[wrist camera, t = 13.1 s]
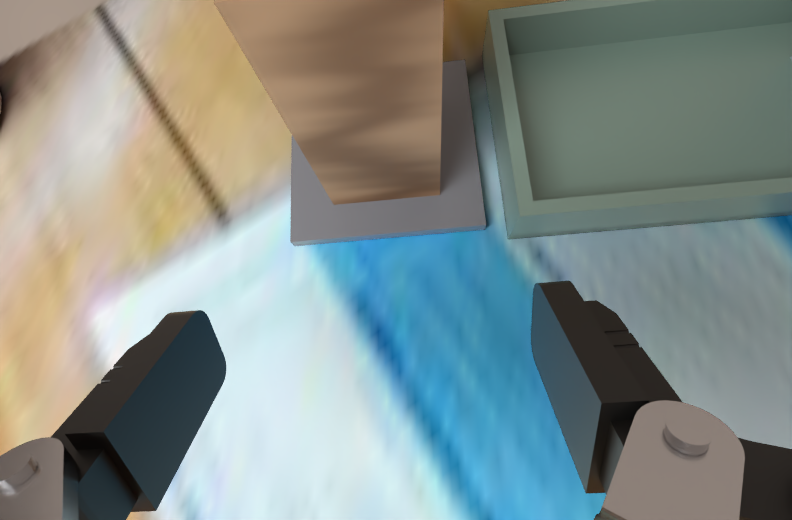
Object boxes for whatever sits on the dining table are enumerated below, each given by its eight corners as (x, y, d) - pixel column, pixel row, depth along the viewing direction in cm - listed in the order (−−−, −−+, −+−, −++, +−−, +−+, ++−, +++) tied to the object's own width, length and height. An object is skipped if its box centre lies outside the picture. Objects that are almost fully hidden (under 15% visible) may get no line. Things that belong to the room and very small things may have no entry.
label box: (333, 204, 20) (210, -4, 9) (332, 102, 21) (225, -179, 10) (439, 195, 19) (444, -35, 9) (430, 91, 21) (423, -212, 10)
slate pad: (294, 245, 20) (290, 242, 19) (296, 87, 22) (292, 79, 22) (484, 229, 19) (486, 225, 19) (464, 67, 22) (464, 59, 21)
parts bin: (508, 239, 19) (519, 216, 16) (482, 55, 22) (488, 10, 19) (1020, 195, 17) (1127, 162, 15) (920, 4, 20) (994, -53, 18)
